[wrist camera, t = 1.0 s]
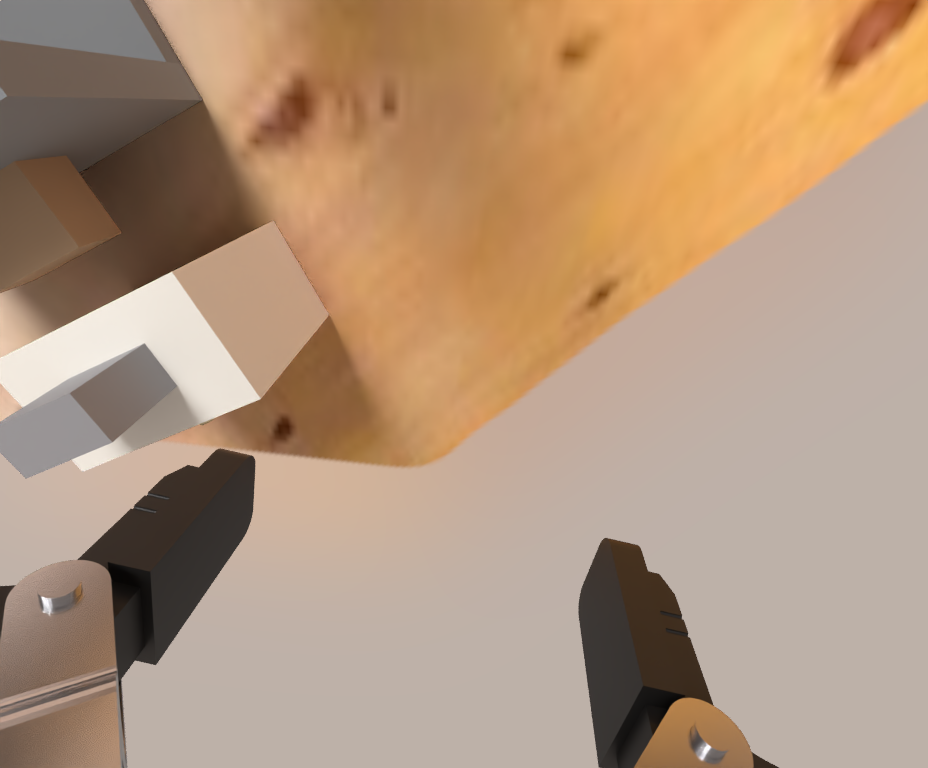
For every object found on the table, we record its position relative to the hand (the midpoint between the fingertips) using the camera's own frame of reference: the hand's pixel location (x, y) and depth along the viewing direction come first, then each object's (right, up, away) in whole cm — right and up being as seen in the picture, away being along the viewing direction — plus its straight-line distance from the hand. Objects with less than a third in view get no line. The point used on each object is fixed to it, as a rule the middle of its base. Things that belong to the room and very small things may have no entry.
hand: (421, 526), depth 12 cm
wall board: (-24, +17, +21) cm, 36 cm away
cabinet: (-15, +9, +25) cm, 31 cm away
